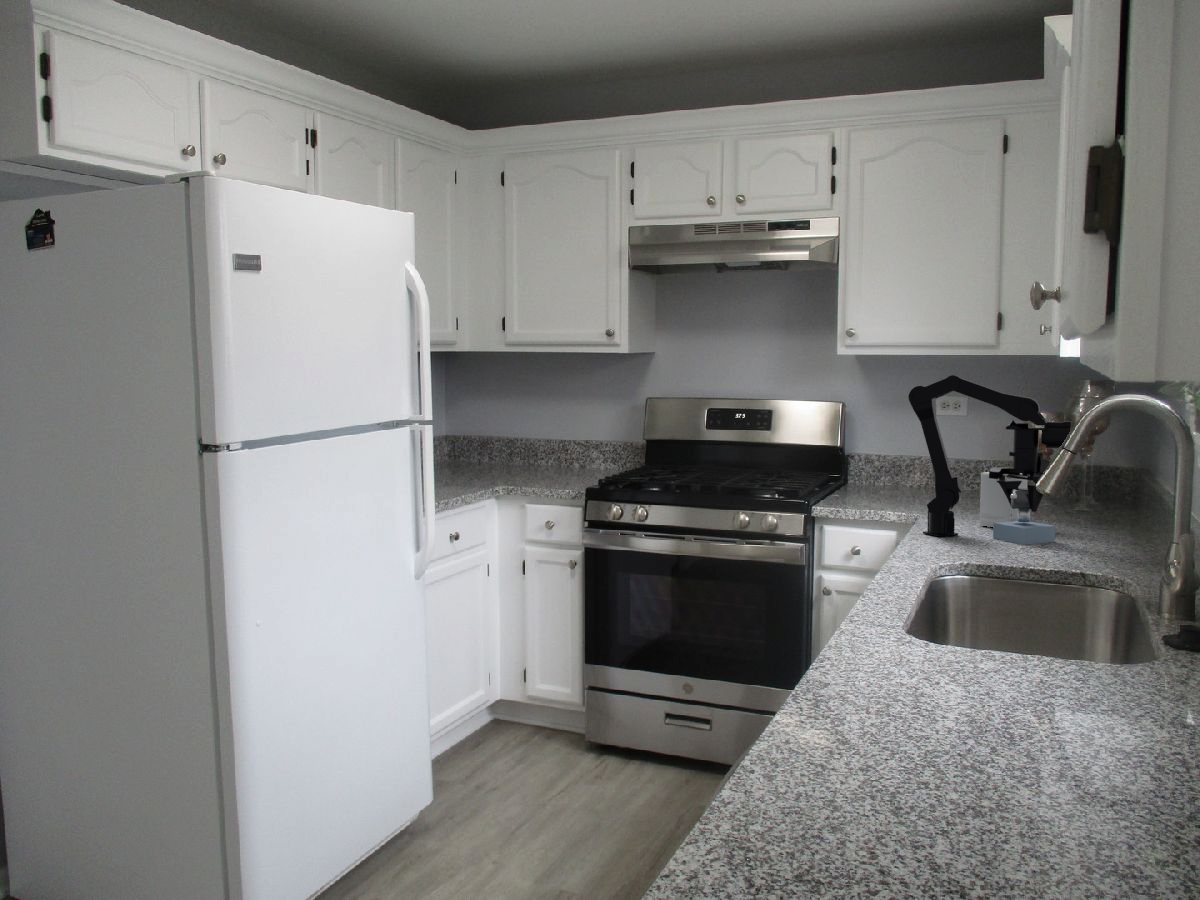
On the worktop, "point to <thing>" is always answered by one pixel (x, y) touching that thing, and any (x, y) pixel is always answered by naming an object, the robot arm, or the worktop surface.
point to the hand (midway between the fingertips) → (1023, 510)
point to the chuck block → (1024, 532)
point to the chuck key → (1021, 503)
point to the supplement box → (995, 502)
